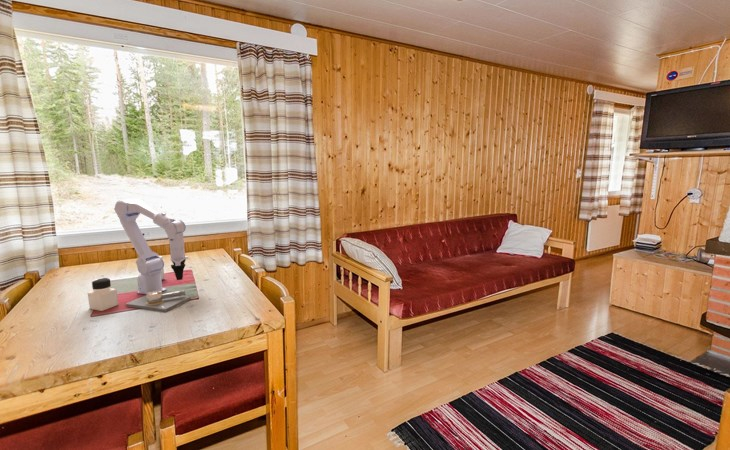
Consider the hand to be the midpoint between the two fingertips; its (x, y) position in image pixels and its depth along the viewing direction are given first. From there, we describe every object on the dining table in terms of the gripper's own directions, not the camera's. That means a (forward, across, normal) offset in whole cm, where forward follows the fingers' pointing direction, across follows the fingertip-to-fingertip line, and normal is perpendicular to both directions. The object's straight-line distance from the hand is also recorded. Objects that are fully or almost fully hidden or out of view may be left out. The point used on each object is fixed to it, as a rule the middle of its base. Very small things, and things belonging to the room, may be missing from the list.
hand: (179, 277), depth 161 cm
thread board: (+8, -6, +8) cm, 13 cm away
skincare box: (+8, +28, +12) cm, 32 cm away
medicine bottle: (+8, -2, +29) cm, 30 cm away
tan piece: (+7, -7, +5) cm, 11 cm away
